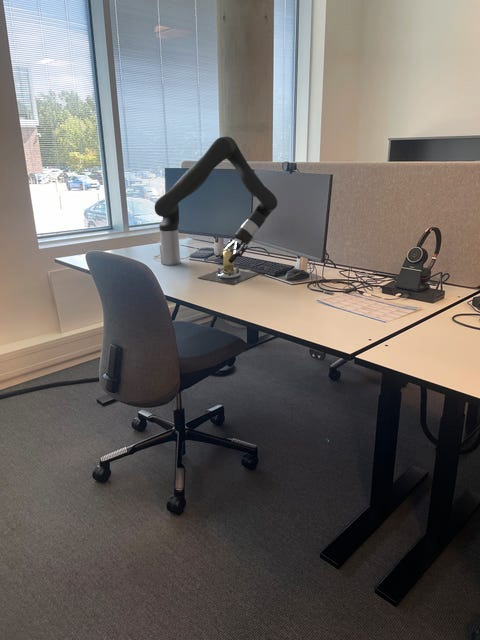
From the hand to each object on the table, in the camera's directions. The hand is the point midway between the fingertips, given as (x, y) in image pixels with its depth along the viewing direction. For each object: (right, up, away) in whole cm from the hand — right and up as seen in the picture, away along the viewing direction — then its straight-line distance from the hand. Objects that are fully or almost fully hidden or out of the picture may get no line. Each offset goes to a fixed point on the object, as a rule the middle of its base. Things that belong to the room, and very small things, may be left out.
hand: (225, 260), depth 206 cm
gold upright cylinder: (+1, -5, +3) cm, 6 cm away
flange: (+1, -7, +3) cm, 8 cm away
